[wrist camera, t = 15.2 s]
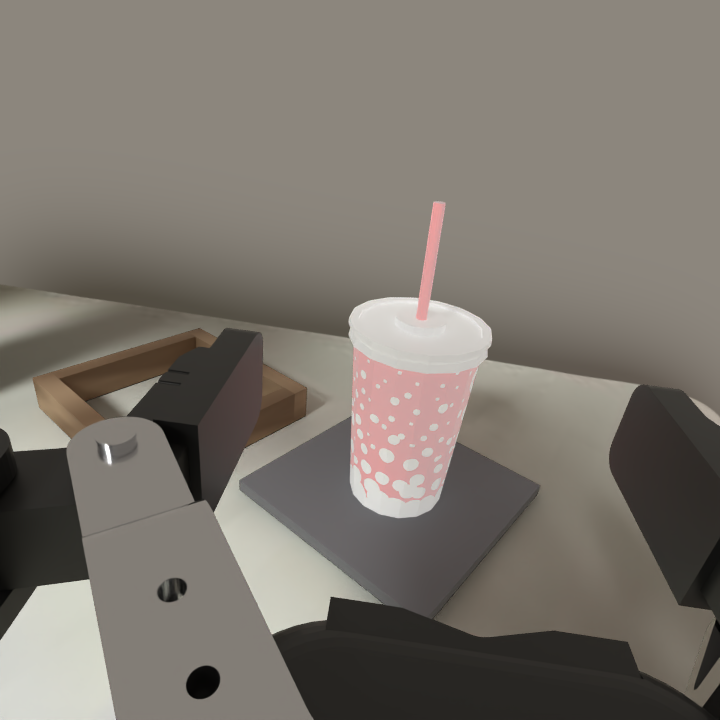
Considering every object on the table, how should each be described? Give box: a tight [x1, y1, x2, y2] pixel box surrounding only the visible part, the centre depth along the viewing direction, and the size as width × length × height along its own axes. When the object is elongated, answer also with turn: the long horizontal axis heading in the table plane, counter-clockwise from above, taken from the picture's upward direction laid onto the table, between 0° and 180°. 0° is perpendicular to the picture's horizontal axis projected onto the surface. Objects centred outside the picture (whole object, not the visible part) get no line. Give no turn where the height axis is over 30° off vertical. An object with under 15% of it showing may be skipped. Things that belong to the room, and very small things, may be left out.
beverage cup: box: [349, 201, 492, 518], centre depth 23 cm, size 6×6×14 cm
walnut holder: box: [33, 328, 307, 447], centre depth 31 cm, size 11×11×2 cm
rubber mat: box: [239, 416, 540, 619], centre depth 26 cm, size 11×11×1 cm
